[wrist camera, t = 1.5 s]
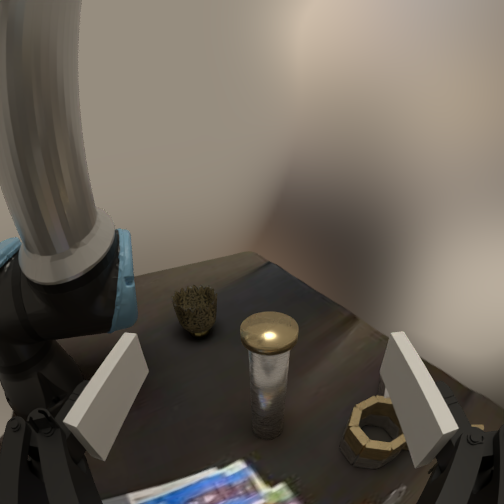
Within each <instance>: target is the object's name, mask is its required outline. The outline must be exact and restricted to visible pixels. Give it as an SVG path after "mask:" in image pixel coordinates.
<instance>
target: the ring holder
mask: <svg viewBox="0 0 504 504" xmlns="http://www.w3.org/2000/svg"><path fill="white" fill-rule="evenodd" d="M365 425H370V426H376V427H383V429H384V430H385V431H386V432H387V433H388V434H389V435H390V437H391V438H392V442H390V443H389V442H381V441H374V440H369V438H368V437H367V436H366V435H365V433H364V432H363V431H362V430H361V427H363V426H365ZM471 426H472V427H478V428H480V429H482V431H483V430H484V425H471ZM339 447H340V450H341V452H342V453H343V455H344V456H345V457H346V459H347V460H348V462H349V463H350V464H353V463H354V465H353V466H355V467H362V468H368V469H376V468H380V467H382V466H383V465H385V464H386V463H388V462H389V461H391V460H392V459H394V458H395V457H396V456H397V455H398V454H399V453H400V452H401V450H409V448H408V445H407V442H406V440H405V437H404V434H403V431H402V428H401V425H400V423H399V420H398V417H397V415H396V412H395V409H394V407H393V404H392V401H391V399H390V396H389V394H388V391H387V389H386V386H385V384H384V381H383V379H382V377H381V375H380V382H379V388H378V394H377V396H376V397H375V396H373V397H371V398H369V399H367V400H365V401H363V402H361V403H359V404H357V405H355V407H354V408H353V411H352V413H351V416H350V418H349V420H348V423H347V425H346V427H345V430H344V433H343V436H342V439H341V442H340V445H339Z"/></svg>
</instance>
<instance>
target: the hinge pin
mask: <svg viewBox="0 0 504 504" xmlns="http://www.w3.org/2000/svg"><path fill="white" fill-rule="evenodd" d="M240 332H241V341H242V344H243V345H244V346H245V348H247V349H248V350H249V369H250V390H251V410H252V429H253V433H254V434H255V435H256V436H257V437H258V438H260V439H264V440H270V439H274V438H276V437H278V436H279V435H280V434H281V432H282V427H283V418H284V409H285V399H286V388H287V377H288V365H289V352H290V350H291V349H292V348H293V347H294V346H295V344H296V343H297V339H298V325H297V323H296V321H295V320H294V319H293V318H291V317H290V316H288V315H285V314H282V313H278V312H261V313H257V314H254V315H251V316H249V317H248V318H246V319H245V320H244V321H243V322H242V324H241V327H240Z"/></svg>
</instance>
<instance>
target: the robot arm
mask: <svg viewBox="0 0 504 504" xmlns="http://www.w3.org/2000/svg"><path fill="white" fill-rule="evenodd" d="M81 2H82V0H0V186H1V189H2V192H3V195H4V198H5V200H6V203H7V206H8V209H9V211H10V214H11V216H12V219H13V221H14V224H15V226H16V228H17V231H18V233H19V235H20V237H21V240H22V243H21V242H20V240H19V238H17V237H15V238H9V239H7V240H4V241H2V242H0V381H1V385H2V387H3V389H4V391H5V396H6V399H7V401H8V403H9V405H10V406H11V408H12V409H13V410H14V412H15V413H16V414H17V415H18V416H16V417H13V418H11V419H10V420H9V421H8V422H7V425H6V429H5V433H4V438H3V442H2V448H1V453H0V504H103V503H102V501H101V499H100V496H99V494H98V491H97V489H96V486H95V483H94V481H93V478H92V475H91V472H90V469H89V466H88V463H87V459H86V457H85V455H84V453H85V451H87V452H88V453H89V454H90V455H91V456H92V457H94V458H97V459H100V460H102V461H105V460H106V458H107V456H108V454H109V451H110V449H111V447H112V445H113V443H114V441H115V439H116V437H117V435H118V433H119V430H120V428H121V426H122V424H123V422H124V420H125V418H126V416H127V414H128V412H129V410H130V408H131V406H132V404H133V402H134V400H135V398H136V396H137V394H138V392H139V390H140V388H141V386H142V384H143V382H144V380H145V378H146V376H147V374H148V372H149V370H148V367H147V364H146V361H145V358H144V355H143V352H142V349H141V346H140V343H139V340H138V337H137V334H133V333H124V334H123V336H122V337H121V338H120V340H119V341H118V342H117V344H116V345H115V346H114V348H113V349H112V350H111V352H110V353H109V355H108V356H107V357H106V359H105V360H104V362H103V363H102V364H101V366H100V367H99V369H98V370H97V371H96V373H95V374H94V376H93V377H92V379H91V380H90V381H88V380H84V379H83V375H82V373H81V371H80V369H79V367H78V365H77V363H76V362H75V360H74V359H73V358H72V357H71V356H70V355H68V354H67V353H66V351H65V350H64V349H63V348H62V347H61V346H60V345H59V344H58V343H57V341H56V339H64V338H71V337H79V336H86V335H94V334H101V333H112V332H114V331H116V330H120V329H124V328H128V327H131V326H132V325H134V323H135V322H136V320H137V317H138V311H137V301H136V292H135V283H134V274H133V259H132V246H131V235H130V232H129V231H128V230H122V229H116V230H115V226H114V223H113V220H112V218H111V216H110V215H109V214H108V213H107V212H106V211H105V210H103V209H101V208H98V207H96V206H95V203H94V199H93V194H92V189H91V184H90V179H89V173H88V168H87V162H86V156H85V149H84V142H83V134H82V125H81V116H80V103H79V85H78V40H79V39H78V38H79V22H80V11H81ZM380 374H381V377H382V379H383V381H384V384H385V386H386V389H387V391H388V394H389V396H390V399H391V401H392V404H393V407H394V409H395V412H396V415H397V417H398V420H399V423H400V425H401V428H402V431H403V434H404V437H405V440H406V442H407V445H408V448H409V451H410V454H411V457H412V460H413V464H414V467H415V468H417V467H420V466H423V465H426V464H429V463H430V462H431V461H432V460H433V459H434V458H435V457H436V459H437V463H436V464H435V465H434V466H433V467H432V468H431V469H430V471H429V472H428V474H430V473H431V472H432V473H431V476H430V478H429V480H428V482H427V484H426V486H425V488H424V490H423V492H422V494H421V496H420V498H419V500H418V502H417V503H416V504H504V424H503V425H502V426H501V427H500V429H499V430H498V431H491V432H483V431H482V429H480V428H478V427H472V426H471V424H470V423H469V421H468V419H467V417H466V415H465V413H464V411H463V410H462V408H461V406H460V404H459V403H458V401H457V399H456V397H454V394H453V392H452V390H451V389H450V387H449V386H448V385H446V384H445V383H444V382H443V381H439V382H436V383H434V381H433V379H432V377H431V376H430V374H429V372H428V370H427V369H426V367H425V365H424V364H423V362H422V360H421V359H420V357H419V355H418V354H417V352H416V350H415V349H414V347H413V346H412V344H411V342H410V341H409V339H408V338H407V336H406V335H405V333H404V332H403V331H402V332H394V333H391V334H390V338H389V341H388V345H387V349H386V352H385V355H384V359H383V362H382V365H381V369H380ZM26 422H27V423H29V424H27V423H26ZM28 455H29V458H28ZM27 459H28V460H27Z"/></svg>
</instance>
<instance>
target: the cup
mask: <svg viewBox="0 0 504 504" xmlns="http://www.w3.org/2000/svg"><path fill="white" fill-rule="evenodd" d="M171 298H172V301H173V306H174V309H175V312H176V315H177V317H178V320H179V322H180V324H181V326H182V327H183V328H184V329H185V330H187V331H189V333H190V335H191V336H192V337H194V338H197V339H200V338H204V337H206V336H207V335H208V334H209V332H210V328H211V327H212V326H213V324H214V322H215V319H216V310H217V293H216V294H214V289H212V290H211V288H210V286H207V287H205V288H203V286H202V285H200V287H199V290H198V288H197V287H196V286H195V285H193V286H192V288H191V287H190V286H187V288H186V291H184V289H183V288H181V291H180V293H179V292H178V291H175V292H174V295H173V296H171Z"/></svg>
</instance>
